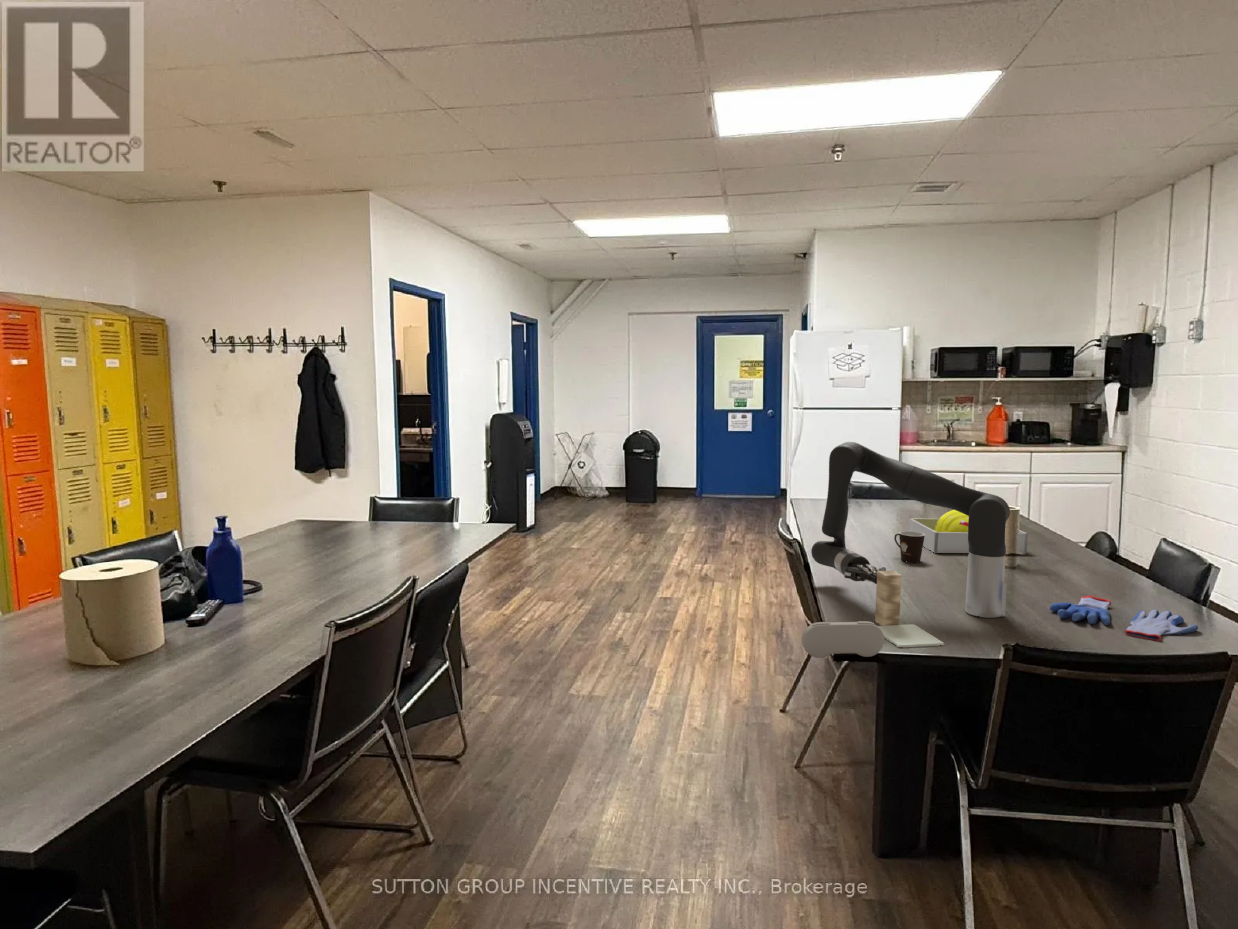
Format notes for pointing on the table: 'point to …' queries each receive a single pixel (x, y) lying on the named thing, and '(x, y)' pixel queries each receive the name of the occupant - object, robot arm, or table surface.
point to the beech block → (888, 598)
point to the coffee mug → (910, 545)
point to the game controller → (842, 638)
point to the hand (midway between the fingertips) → (880, 581)
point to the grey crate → (950, 537)
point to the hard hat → (952, 522)
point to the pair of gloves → (1140, 624)
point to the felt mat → (909, 636)
